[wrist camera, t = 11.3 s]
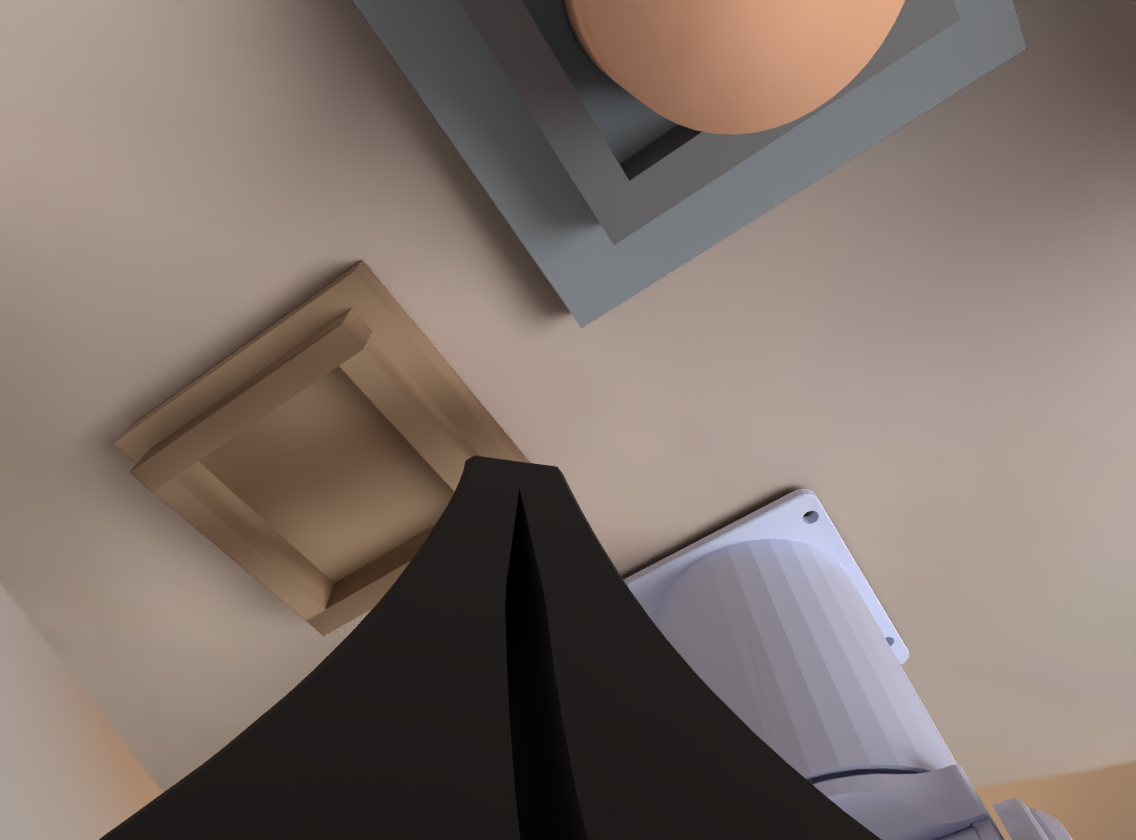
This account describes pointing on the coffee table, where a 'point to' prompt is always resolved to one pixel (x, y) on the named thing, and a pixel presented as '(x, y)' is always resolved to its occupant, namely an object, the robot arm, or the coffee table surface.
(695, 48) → the peg
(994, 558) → the coffee table surface
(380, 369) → the holder
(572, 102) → the socket board
